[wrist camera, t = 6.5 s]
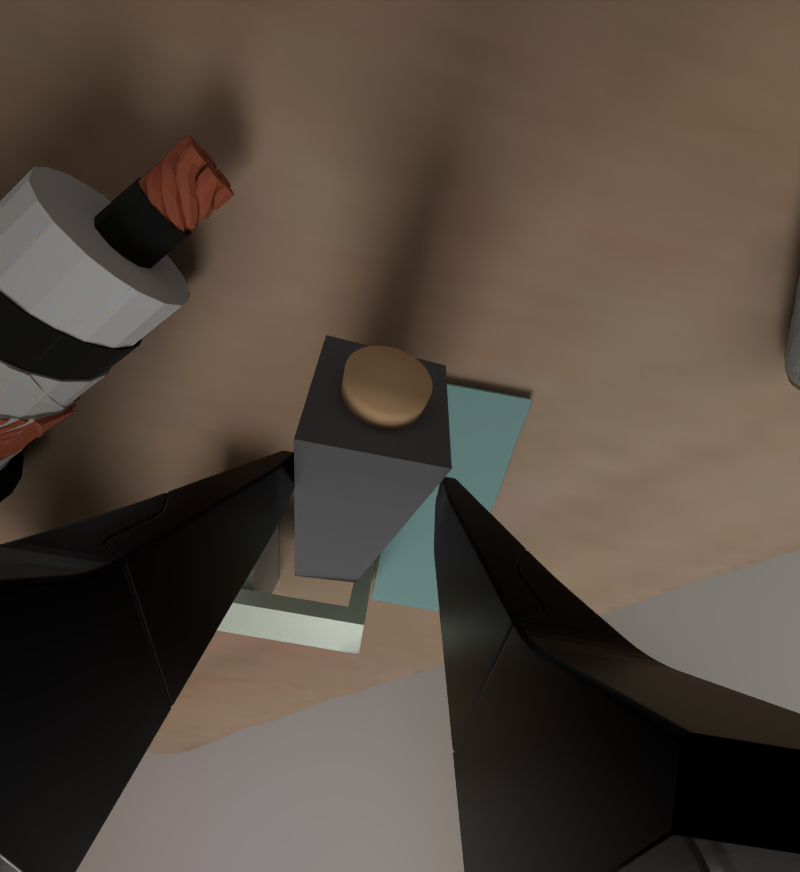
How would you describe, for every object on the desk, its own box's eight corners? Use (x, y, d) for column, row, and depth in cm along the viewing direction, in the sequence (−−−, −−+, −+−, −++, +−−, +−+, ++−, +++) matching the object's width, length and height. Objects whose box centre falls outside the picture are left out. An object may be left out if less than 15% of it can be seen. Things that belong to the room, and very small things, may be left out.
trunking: (278, 579, 26) (255, 625, 22) (231, 571, 26) (200, 616, 22) (279, 491, 22) (251, 530, 19) (224, 482, 22) (185, 518, 18)
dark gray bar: (361, 527, 24) (354, 584, 21) (308, 520, 23) (294, 578, 20) (455, 347, 10) (464, 453, 7) (328, 312, 9) (294, 418, 7)
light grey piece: (370, 582, 25) (358, 654, 20) (209, 554, 25) (156, 620, 20) (375, 555, 24) (364, 625, 19) (206, 526, 24) (148, 588, 19)
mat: (453, 609, 26) (453, 613, 26) (372, 595, 26) (371, 599, 26) (529, 398, 18) (532, 400, 18) (413, 376, 18) (413, 378, 18)
